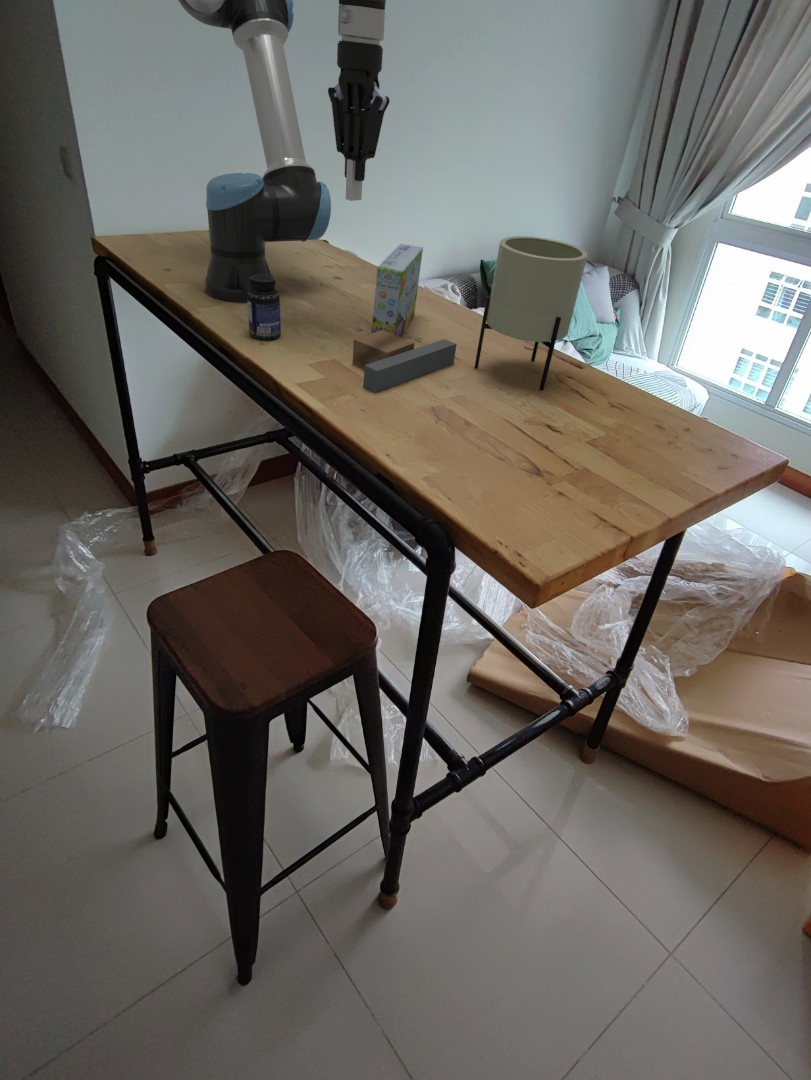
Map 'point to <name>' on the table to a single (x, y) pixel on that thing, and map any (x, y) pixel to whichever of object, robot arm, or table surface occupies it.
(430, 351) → the gray rectangular bar
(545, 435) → the table surface
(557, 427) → the table surface
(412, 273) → the snack box
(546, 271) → the planter
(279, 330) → the pill bottle
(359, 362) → the block
